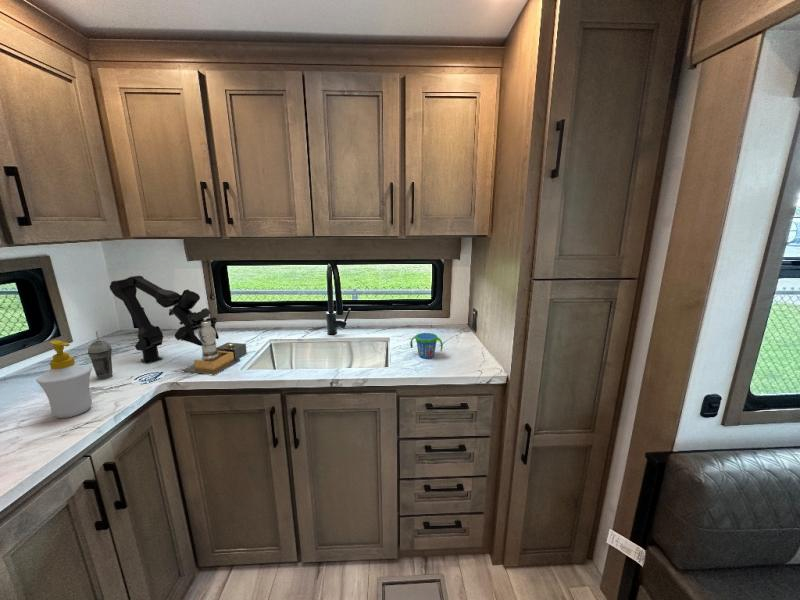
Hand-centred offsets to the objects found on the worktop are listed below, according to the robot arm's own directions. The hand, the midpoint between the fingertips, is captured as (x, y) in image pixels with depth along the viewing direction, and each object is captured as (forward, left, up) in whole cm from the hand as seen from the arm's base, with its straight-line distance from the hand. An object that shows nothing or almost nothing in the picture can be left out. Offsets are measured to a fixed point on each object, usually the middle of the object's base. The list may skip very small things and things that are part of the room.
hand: (210, 341), depth 142 cm
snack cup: (+71, +66, -12) cm, 97 cm away
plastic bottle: (-1, 0, -11) cm, 11 cm away
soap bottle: (+1, -45, -12) cm, 47 cm away
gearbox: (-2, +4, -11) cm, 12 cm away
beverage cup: (-24, -31, -12) cm, 41 cm away
